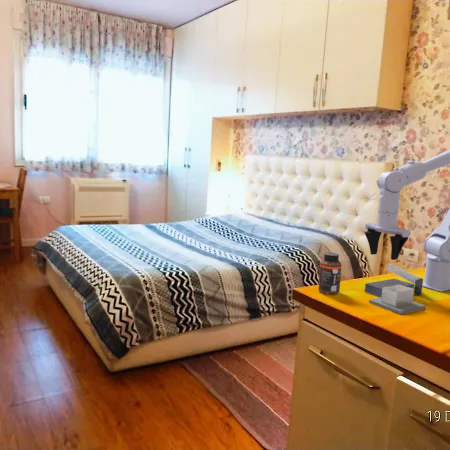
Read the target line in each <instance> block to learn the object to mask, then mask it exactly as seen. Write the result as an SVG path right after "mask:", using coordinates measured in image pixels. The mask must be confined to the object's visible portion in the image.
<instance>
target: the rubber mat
mask: <svg viewBox="0 0 450 450" xmlns="http://www.w3.org/2000/svg"><path fill="white" fill-rule="evenodd" d="M381 298H382V297H377V298H371V299H369V300H368V303H369V304H371V305H374V306H377V307H379V308H382V309H384V310H387V311H390V312H392V313H395V314H397V315H398V314H399V315H404V314H408V313H412V312H417V311H421V310H424V309H426V305H425V304H422V303H418V302H416V301H413V303H412V304H408V305H403V306H399V307H393V306H390V305H388V304H385V303H382V302H381Z"/></svg>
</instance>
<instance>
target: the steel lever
mask: <svg viewBox="0 0 450 450" xmlns="http://www.w3.org/2000/svg"><path fill="white" fill-rule="evenodd" d="M387 271H389V272H390V273H392V274H394V275H396V276H399V277H400V278H401V279H403V280H406V281H407V282H408V283H411V284H415V285H414V294H413V295H415V296H422V294H423V286H422V285H423V282H424V279H423V278H421V277H420V276H419V275H416V274H414V273H412V272H409V271H408V270H405V269H404V268H401V267H400V266H397V265H395V264H394V263H388V264H387Z"/></svg>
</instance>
